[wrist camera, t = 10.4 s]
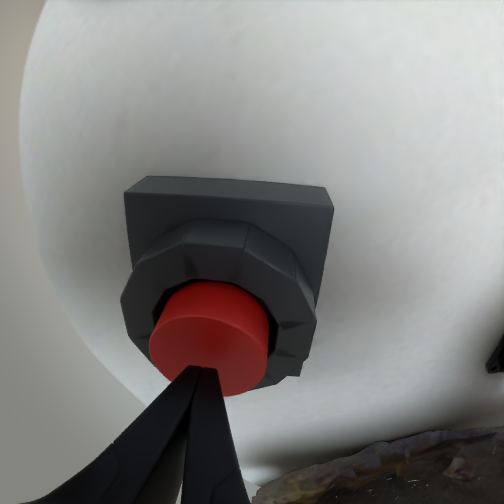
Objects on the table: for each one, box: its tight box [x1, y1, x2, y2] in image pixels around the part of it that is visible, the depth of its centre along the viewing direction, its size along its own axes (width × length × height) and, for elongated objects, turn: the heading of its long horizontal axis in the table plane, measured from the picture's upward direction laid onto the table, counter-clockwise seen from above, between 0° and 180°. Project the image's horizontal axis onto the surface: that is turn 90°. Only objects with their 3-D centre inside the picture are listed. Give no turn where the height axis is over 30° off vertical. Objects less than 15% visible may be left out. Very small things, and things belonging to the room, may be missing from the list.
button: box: [149, 281, 269, 397], centre depth 10 cm, size 4×4×2 cm
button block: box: [120, 176, 334, 391], centre depth 12 cm, size 8×7×4 cm
